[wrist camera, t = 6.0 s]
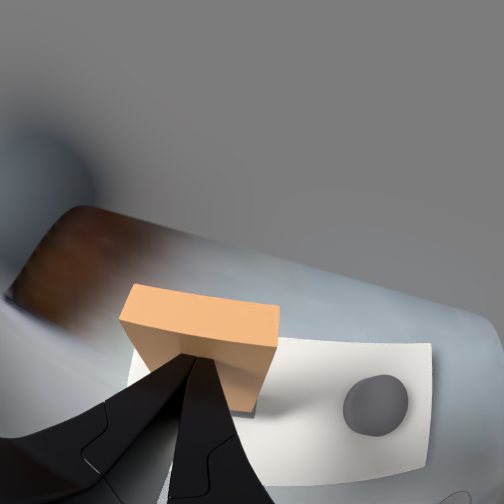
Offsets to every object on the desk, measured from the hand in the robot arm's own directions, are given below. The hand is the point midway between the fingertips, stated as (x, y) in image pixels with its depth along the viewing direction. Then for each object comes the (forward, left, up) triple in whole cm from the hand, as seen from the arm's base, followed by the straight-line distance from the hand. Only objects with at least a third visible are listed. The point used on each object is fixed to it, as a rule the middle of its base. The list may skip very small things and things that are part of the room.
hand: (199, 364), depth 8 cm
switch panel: (-5, -1, -10) cm, 11 cm away
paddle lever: (0, +1, -6) cm, 6 cm away
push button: (-9, -3, -7) cm, 11 cm away
